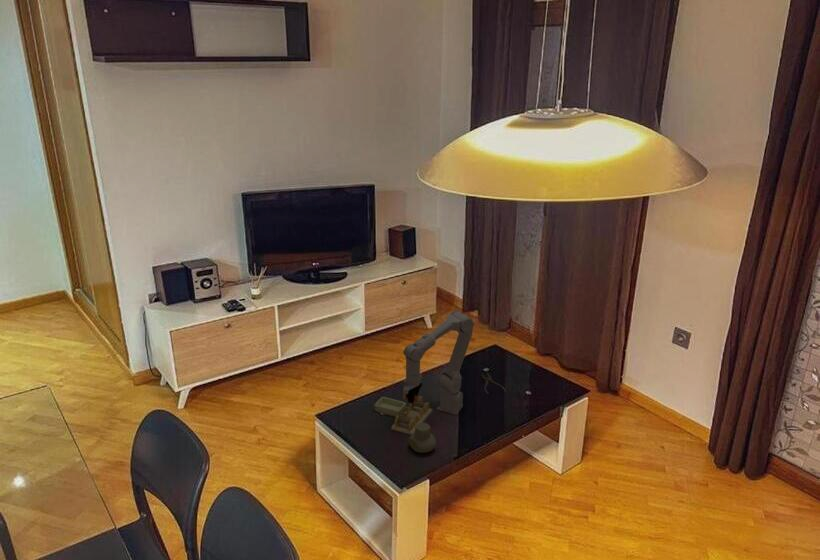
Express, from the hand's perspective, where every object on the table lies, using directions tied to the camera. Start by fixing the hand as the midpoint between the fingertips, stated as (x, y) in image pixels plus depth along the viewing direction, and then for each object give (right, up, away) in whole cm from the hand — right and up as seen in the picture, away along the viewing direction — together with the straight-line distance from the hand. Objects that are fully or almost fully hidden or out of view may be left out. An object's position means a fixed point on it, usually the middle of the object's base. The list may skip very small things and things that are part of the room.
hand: (412, 400), depth 259 cm
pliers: (+36, +1, +33) cm, 49 cm away
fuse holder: (0, -9, +3) cm, 9 cm away
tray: (-10, -6, +11) cm, 16 cm away
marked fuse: (0, 0, 0) cm, 0 cm away
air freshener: (+4, -16, -15) cm, 22 cm away
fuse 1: (-3, -9, -4) cm, 10 cm away
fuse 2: (+3, -4, +8) cm, 10 cm away
